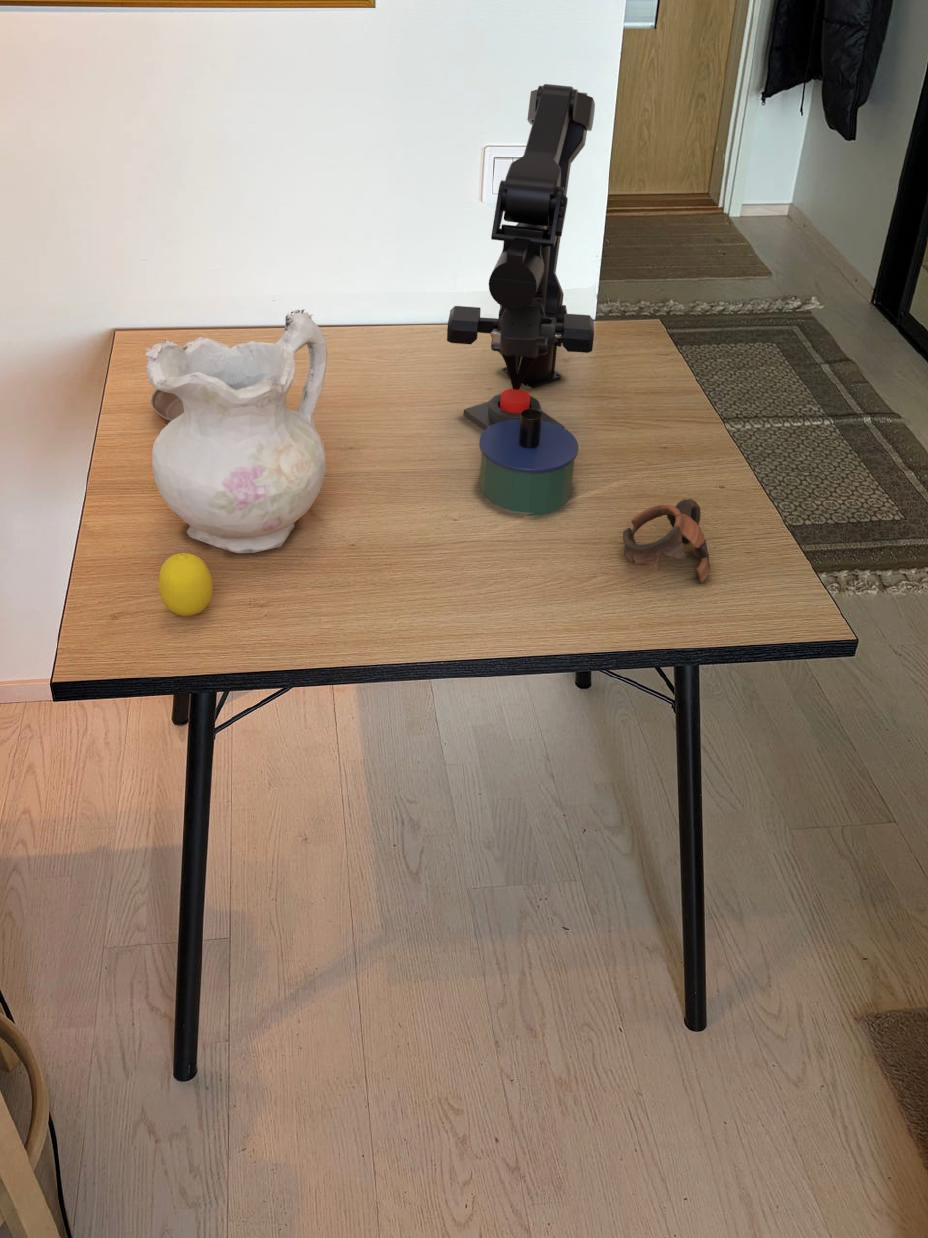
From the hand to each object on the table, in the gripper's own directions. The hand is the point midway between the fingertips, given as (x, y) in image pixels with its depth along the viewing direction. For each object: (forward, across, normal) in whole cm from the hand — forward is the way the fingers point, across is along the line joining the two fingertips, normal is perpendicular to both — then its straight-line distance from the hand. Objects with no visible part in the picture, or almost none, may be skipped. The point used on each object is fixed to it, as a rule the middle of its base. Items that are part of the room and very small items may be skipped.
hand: (516, 388), depth 156 cm
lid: (0, +2, -16) cm, 16 cm away
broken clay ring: (+6, +20, -29) cm, 35 cm away
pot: (+6, +2, -16) cm, 17 cm away
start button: (+3, 0, 0) cm, 3 cm away
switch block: (+6, 0, 0) cm, 6 cm away
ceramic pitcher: (+6, -30, -27) cm, 41 cm away
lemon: (+6, -33, -46) cm, 57 cm away
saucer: (+6, -41, -3) cm, 42 cm away
